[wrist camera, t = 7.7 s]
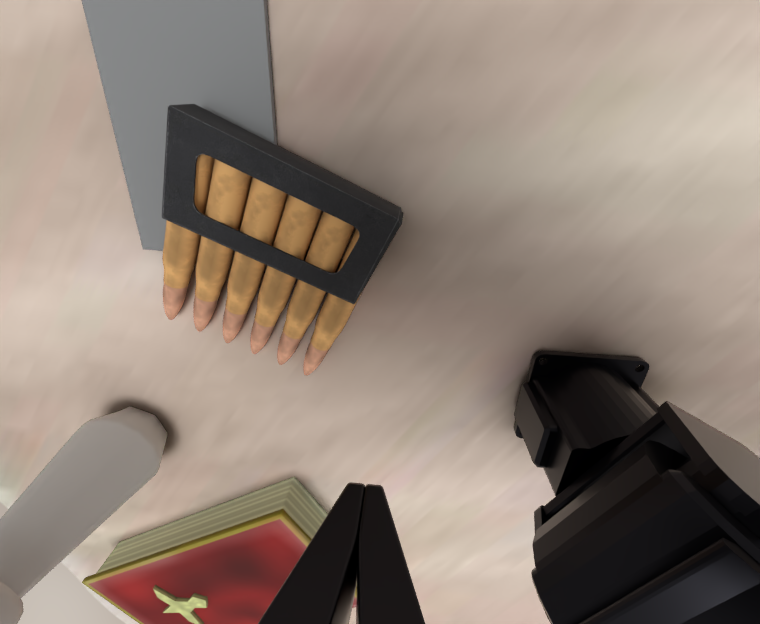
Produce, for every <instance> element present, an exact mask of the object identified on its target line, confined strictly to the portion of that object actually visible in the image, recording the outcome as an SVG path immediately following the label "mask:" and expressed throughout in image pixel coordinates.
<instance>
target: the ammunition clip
mask: <svg viewBox="0 0 760 624" xmlns="http://www.w3.org/2000/svg"><path fill="white" fill-rule="evenodd" d="M250 186H251V187H250ZM249 190H250V191H249ZM248 194H249V195H248ZM287 197H288V198H287ZM247 198H248V199H247ZM286 200H287V202H286ZM246 202H247V203H246ZM285 203H286V205H285ZM245 206H246V207H245ZM284 206H285V208H284ZM283 209H284V211H283ZM244 210H245V212H244ZM322 211H323V213H322V216H321V218H320V215H321V212H322ZM282 212H283V215H282ZM243 214H244V215H243ZM281 216H282V218H281ZM162 218H163V219H165V220H167V221H166V230H165V239H164V248H163V266H164V287H163V303H164V309H165V313H166V315H167V317H168V318H169V319H170V320H172V319H174V318H175V317H176V315H177V314H178V313H179V311H180V309H181V307H182V305H183V303H184V300H185V297H186V293H187V288H188V285H189V282H190V277H191V274H192V272H193V269H194V267H195V265H196V289H195V299H194V323H195V326H196V329H197V330H198V331H199V332H200V331H202V330H203V329H204V328H205V327H206V326H207V324H208V323H209V321H210V319H211V318H212V316H213V313H214V311H215V308H216V305H217V301H218V298H219V296H220V292H221V289H222V286H223V285H224V283H225V281H226V279H227V277H228V273H229V269H230V265H231V261H232V257H233V253H234V251H235V253H234V258H233V262H232V266H231V270H230V274H229V279H228V284H227V300H226V308H225V312H224V318H223V336H224V339H225V342H226V343H230V342H231V341H232V340H233V339H234V338H235V337H236V335H237V334H238V332H239V331H240V329H241V327H242V325H243V322H244V320H245V317H246V314H247V312H248V310H249V307H250V304H251V302H252V300H253V298H254V297H255V295H256V293H257V291H258V288H259V285H260V282H261V279H262V276H263V273H264V269H265V266H266V265H267V267H266V271H265V274H264V277H263V281H262V284H261V287H260V291H259V294H258V299H257V310H256V314H255V320H254V323H253V327H252V332H251V350H252V353H253V354H256V353H258V352H259V351H260V350H261V349H262V348H263V347H264V345H265V344H266V343H267V341H268V339H269V337H270V335H271V334H272V331H273V329H274V326H275V324H276V322H277V320H278V318H279V316H280V314H281V312H282V311H283V309H284V308H285V306H286V304H287V302H288V299H289V297H290V294H291V291H292V289H293V286H294V283H295V281H296V279H298V281H297V283H296V286H295V289H294V292H293V294H292V297H291V300H290V302H289V305H288V309H287V315H286V321H285V324H284V328H283V332H282V335H281V338H280V341H279V346H278V354H277V358H278V363H279V364H280V365H282V364H284V363H285V362H286V361H287V360H288V359H289V358H290V357H291V356H292V355H293V353H294V352H295V350H296V349H297V347H298V345H299V343H300V341H301V339H302V337H303V336H304V334H305V332H306V330H307V328H308V326H309V325H310V324H311V322H312V321H313V320H314V318H315V316H316V314H317V312H318V309H319V307H320V305H321V303H322V300H323V298H324V296H325V294H326V292H327V293H328V294H327V296H326V298H325V301H324V303H323V305H322V307H321V310H320V312H319V314H318V317H317V319H316V324H315V330H314V332H313V335H312V338H311V341H310V344H309V346H308V349H307V352H306V355H305V360H304V374H305V375H309V374H310V373H312V372H313V371H314V370H315V369H316V368H317V367H318V366H319V364H320V363H321V362H322V360H323V359H324V357H325V355H326V354H327V352H328V350H329V349H330V347H331V345H332V344H333V342H334V340H335V339H336V338H337V336H338V335H339V334H340V333H341V331H342V330H343V328H344V326H345V324H346V322H347V320H348V318H349V316H350V315H351V313H352V311H353V309H354V307H355V305H356V303H357V301H358V299H359V297H360V295H361V293H362V291H363V289H364V287H365V286H366V284H367V282H368V281H369V279H370V277H371V275H372V274H373V272H374V270H375V268H376V267H377V265H378V263H379V262H380V260H381V258H382V256H383V255H384V253H385V251H386V250H387V248H388V246H389V244H390V243H391V241H392V239H393V238H394V236H395V234H396V232H397V231H398V229H399V227H400V226H401V224H402V218H403V212H402V210H401V208H400V207H398V206H396V205H394V204H392V203H390V202H388V201H386V200H384V199H382V198H380V197H378V196H376V195H374V194H372V193H370V192H368V191H366V190H364V189H362V188H360V187H358V186H357V185H355V184H353V183H351V182H349V181H347V180H345V179H343V178H341V177H339V176H337V175H335V174H333V173H331V172H329V171H327V170H325V169H323V168H321V167H319V166H317V165H315V164H313V163H311V162H309V161H307V160H305V159H303V158H301V157H299V156H297V155H295V154H293V153H291V152H289V151H287V150H285V149H283V148H281V147H279V146H277V145H275V144H273V143H271V142H269V141H267V140H265V139H263V138H261V137H259V136H257V135H255V134H253V133H251V132H249V131H247V130H245V129H243V128H241V127H239V126H237V125H235V124H233V123H231V122H229V121H227V120H226V119H224V118H222V117H220V116H218V115H216V114H214V113H212V112H210V111H208V110H206V109H204V108H202V107H200V106H198V105H196V104H181V105H169V106H168V112H167V130H166V148H165V165H164V183H163V200H162ZM319 218H320V221H319V224H318V227H317V229H316V232H315V235H314V237H313V240H312V243H311V246H309V244H310V241H311V239H312V236H313V234H314V231H315V228H316V226H317V223H318V220H319ZM280 219H281V221H280ZM279 222H280V225H279ZM278 225H279V228H278ZM277 228H278V231H277ZM355 228H356V229H355ZM354 229H355V231H354ZM353 231H354V234H353V236H352V233H353ZM351 236H352V238H351ZM350 238H351V241H350V243H349V245H348V248H347V250H346V252H345V254H344V257H343V259H341V258H342V256H343V253H344V251H345V249H346V247H347V244H348V242H349V240H350ZM197 257H198V258H197ZM196 262H197V264H196Z"/></svg>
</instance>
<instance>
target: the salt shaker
mask: <svg viewBox="0 0 760 624" xmlns="http://www.w3.org/2000/svg"><path fill="white" fill-rule="evenodd" d="M167 435H168V433H167V432H166V430H165V429H164V427H163V426H162V425H161V423H160V422H159V420H158V419H157V417H156V416H155V415H153V414H151V413H148V412H145V411H142V410H139V409H136V408H134V407H131V406H130V407H128V408H125V409H123V410H120V411H118V412H115V413H112V414H108V415H105V416H101V417H98V418H95V419H91V420H89V421H88V422H86V423H85V424H83V425H82V426H81V427H80V428H79V429H78V430H77V431H76V432H75V433H74V434H73V435H72V436H71V438H70V439H69V440H68V441H67V442H66V443H65V445H64V446H63V447H62V448H61V449H60V450H59V452H58V453H57V454H56V455H55V456H54V457H53V459H52V460H51V461H50V462H49V463H48V464H47V465H46V467H45V468H44V469H43V470H42V471H41V472H40V474H39V475H38V476H37V477H36V478H35V479H34V481H33V482H32V483H31V484H30V485H29V486H28V487H27V489H26V490H25V491H24V492H23V493H22V494H21V496H20V497H19V498H18V499H17V500H16V501H15V503H14V504H13V505H12V506H11V507H10V508H9V509H8V511H7V512H6V513H5V514H4V515H3V516H2V518H1V519H0V624H17V623H18V621H19V620H20V617H21V615H22V613H23V602H22V600H21V598H22V597H23V596H24V595H25V594H26V593H27V592H28V591H29V590H30V589H31V588H33V587H34V586H35V585H36V584H37V583H38V582H39V581H40V580H41V579H42V578H43V577H44V576H46V575H47V574H48V573H49V572H50V571H51V570H52V569H53V568H54V567H55V566H56V565H57V564H58V563H60V562H61V561H62V560H63V559H64V558H65V557H66V556H67V555H68V554H69V553H71V552H72V551H73V550H74V549H75V548H76V547H77V546H78V545H79V544H80V543H81V542H82V541H84V540H85V539H86V538H87V537H88V536H89V535H90V534H91V533H92V532H93V531H94V530H95V529H97V528H98V527H99V526H100V525H101V524H102V523H103V522H104V521H105V520H106V519H107V518H108V517H110V516H111V515H112V514H113V513H114V512H115V511H116V510H117V509H118V508H119V507H120V506H122V505H123V504H124V503H125V502H126V501H127V500H128V499H129V498H130V497H131V496H132V495H133V494H135V493H136V492H137V491H138V490H139V489H140V488H141V487H142V486H143V485H145V484H146V483H147V482H148V481H149V480H150V479H151V478H152V477H154V476H155V475H156V473H157V471H158V469H159V467H160V463H161V458H162V454H163V450H164V447H165V443H166V439H167Z"/></svg>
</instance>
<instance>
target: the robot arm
mask: <svg viewBox="0 0 760 624" xmlns="http://www.w3.org/2000/svg"><path fill="white" fill-rule="evenodd" d="M541 358H545V360H543V361H539V360H540V359H541ZM638 365H640V366H639V367H638V368H636V366H638ZM648 370H649V364H648V363H647V362H646V361H645V360H643V359H642V358H639V357H625V356H611V355H598V354H584V353H570V352H556V351H538V352H536V353H535V354H534V355H533V358H532V361H531V365H530V369H529V373H528V377H527V380H526V381H525V382H524V383H523V384H522V386H521V390H520V394H519V398H518V402H517V405H516V409H515V413H514V416H515V419H516V422H515V426H514V431H515V434H516V436H517V437H519V438H524V441H525V443H526V446H527V448H528V451H529V453H530V456H531V458H532V461H533V463H534V464H535V465H536V466H537V467H543V468H544V470H545V472H546V475H547V477H548V479H549V482H550V484H551V486H552V489H553V491H554V493H555V496H556V497H555V498H553V499H552V500H551V501H550V502H549V503H547V504H546V505H545V506H543V505H542V506H540V507H539V508H538V509H537V510H536V511H535V512H534V521H535V536H534V540H533V551H534V560H535V566H536V568H535V569H533V570H532V579H533V583H534V586H535V588H536V591H537V594H538V597H539V599H540V602H541V604H542V606H543V608H544V610H545V613H546V615H547V617H548V619H549V621H550V623H551V624H760V458H759V457H758V456H757V455H755V454H754V453H753V452H752V451H750V450H749V449H748V448H747V447H745V446H744V445H743V444H741V443H739V442H738V441H736V440H734V439H732V438H731V437H729V436H727V435H725V434H724V433H722V432H720V431H718V430H717V429H715V428H713V427H711V426H710V425H708V424H706V423H704V422H703V421H701V420H699V419H698V418H696V417H694V416H692V415H691V414H689V413H687V412H685V411H684V410H682V409H680V408H678V407H677V406H675V405H673V404H671V403H670V402H668V401H666V402H665V403H663V404H662V405H661V406H660V407H659V406H658V405H657V404H656V403H655V402H654V401H653V400H652V399H651V398H650V397H649V396H648V395H647V394H646V393H645V392H644V391H643V390H642V389H641V386H642V383H643V381H644V379H645V377H646V374H647V372H648ZM356 584H357V599H356V624H425V622H424V618H423V615H422V612H421V609H420V605H419V602H418V599H417V596H416V592H415V589H414V586H413V583H412V579H411V576H410V573H409V570H408V567H407V563H406V560H405V557H404V554H403V550H402V547H401V544H400V541H399V537H398V534H397V531H396V528H395V524H394V521H393V518H392V515H391V512H390V508H389V505H388V502H387V499H386V495H385V492H384V489H383V487H382V486H381V485H372V484H368V485H366V486H365V485H364V484H362V483H348V484H347V486H346V487H345V489H344V490H343V492H342V493H341V495H340V496H339V498H338V499H337V501H336V503H335V504H334V506H333V507H332V509H331V510H330V512H329V513H328V515H327V517H326V518H325V520H324V521H323V523H322V524H321V526H320V527H319V529H318V531H317V532H316V534H315V535H314V537H313V538H312V540H311V541H310V543H309V545H308V546H307V548H306V549H305V551H304V552H303V554H302V556H301V557H300V559H299V560H298V562H297V563H296V565H295V566H294V568H293V570H292V571H291V573H290V574H289V576H288V577H287V579H286V580H285V582H284V584H283V585H282V587H281V588H280V590H279V591H278V593H277V594H276V596H275V598H274V599H273V601H272V602H271V604H270V605H269V607H268V608H267V610H266V612H265V613H264V615H263V616H262V618H261V619H260V621H259V622H258V624H349V620H350V615H351V611H352V606H353V601H354V596H355V590H356Z"/></svg>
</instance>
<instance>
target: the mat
mask: <svg viewBox="0 0 760 624" xmlns="http://www.w3.org/2000/svg"><path fill="white" fill-rule="evenodd" d="M82 4H83V8H84V12H85V16H86V20H87V24H88V28H89V32H90V36H91V41H92V45H93V49H94V53H95V57H96V61H97V65H98V69H99V73H100V77H101V81H102V85H103V89H104V93H105V97H106V101H107V105H108V109H109V113H110V118H111V122H112V126H113V130H114V134H115V138H116V142H117V146H118V150H119V154H120V158H121V162H122V166H123V170H124V174H125V178H126V182H127V186H128V191H129V195H130V199H131V203H132V207H133V211H134V215H135V219H136V223H137V227H138V231H139V235H140V239H141V243H142V247H143V249H146V250H162V251H163V248H164V239H165V230H166V221H167V220H165V219H163V218H162V200H163V183H164V165H165V148H166V130H167V112H168V106H169V105H181V104H196V105H198V106H200V107H202V108H204V109H206V110H208V111H210V112H212V113H214V114H216V115H218V116H220V117H222V118H224V119H226V120H227V121H229V122H231V123H233V124H235V125H237V126H239V127H241V128H243V129H245V130H247V131H249V132H251V133H253V134H255V135H257V136H259V137H261V138H263V139H265V140H267V141H269V142H271V143H273V144H275V145H277V134H276V121H275V107H274V93H273V80H272V66H271V52H270V39H269V25H268V11H267V0H82ZM250 187H251V186H250ZM249 191H250V190H249ZM248 195H249V194H248ZM247 199H248V198H247ZM246 203H247V202H246ZM245 207H246V206H245ZM244 212H245V210H244ZM243 215H244V214H243ZM281 218H282V216H281ZM280 221H281V219H280ZM279 225H280V222H279ZM279 225H278V228H279ZM278 228H277V231H278ZM234 253H235V251H234ZM234 253H233V255H234Z"/></svg>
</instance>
